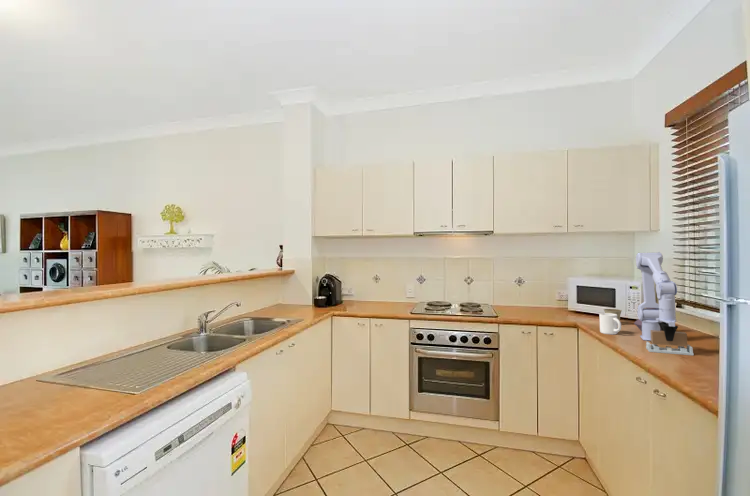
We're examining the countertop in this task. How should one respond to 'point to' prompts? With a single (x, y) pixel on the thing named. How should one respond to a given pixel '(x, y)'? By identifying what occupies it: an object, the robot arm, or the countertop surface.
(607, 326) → the mug
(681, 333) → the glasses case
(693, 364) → the countertop surface
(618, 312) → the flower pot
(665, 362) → the countertop surface
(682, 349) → the display stand
